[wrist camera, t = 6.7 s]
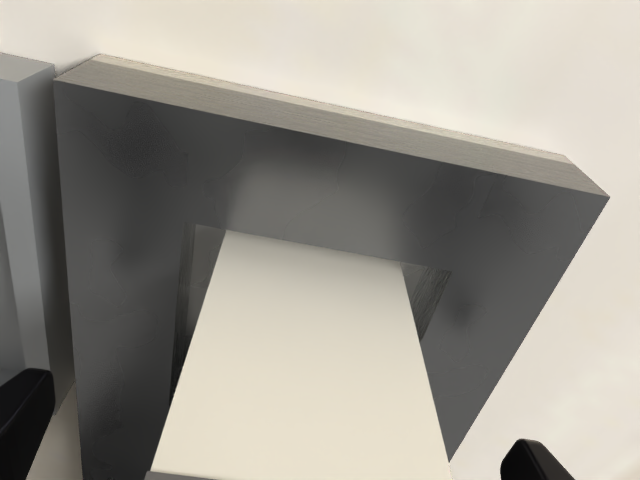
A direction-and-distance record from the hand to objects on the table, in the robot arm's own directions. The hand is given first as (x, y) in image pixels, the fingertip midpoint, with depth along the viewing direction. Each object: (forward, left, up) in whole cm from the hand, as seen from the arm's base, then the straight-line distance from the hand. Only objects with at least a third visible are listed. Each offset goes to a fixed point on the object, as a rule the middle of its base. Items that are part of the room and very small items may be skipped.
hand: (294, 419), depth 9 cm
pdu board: (-4, 0, -4) cm, 6 cm away
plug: (0, 0, -4) cm, 4 cm away
